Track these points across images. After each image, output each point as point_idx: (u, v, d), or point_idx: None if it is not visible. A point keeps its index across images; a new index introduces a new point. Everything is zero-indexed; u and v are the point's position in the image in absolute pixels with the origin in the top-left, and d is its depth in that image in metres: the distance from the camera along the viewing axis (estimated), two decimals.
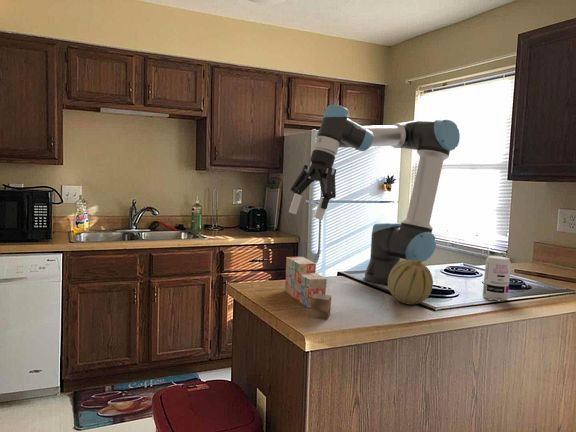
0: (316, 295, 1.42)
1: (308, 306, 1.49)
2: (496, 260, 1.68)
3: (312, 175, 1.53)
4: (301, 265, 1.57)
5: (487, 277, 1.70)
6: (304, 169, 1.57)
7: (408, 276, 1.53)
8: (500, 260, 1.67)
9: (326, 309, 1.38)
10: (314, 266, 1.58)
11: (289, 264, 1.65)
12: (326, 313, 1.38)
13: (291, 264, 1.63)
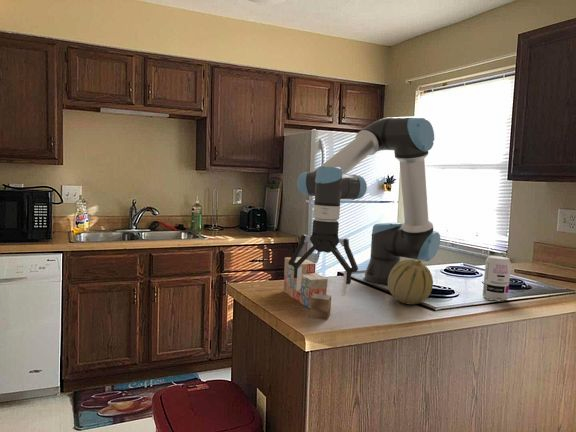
0: (316, 295, 1.42)
1: (309, 306, 1.49)
2: (496, 260, 1.68)
3: (319, 247, 1.39)
4: (301, 265, 1.56)
5: (487, 277, 1.70)
6: (303, 240, 1.40)
7: (408, 276, 1.53)
8: (500, 260, 1.67)
9: (326, 309, 1.38)
10: (314, 266, 1.58)
11: (288, 264, 1.64)
12: (326, 313, 1.38)
13: None
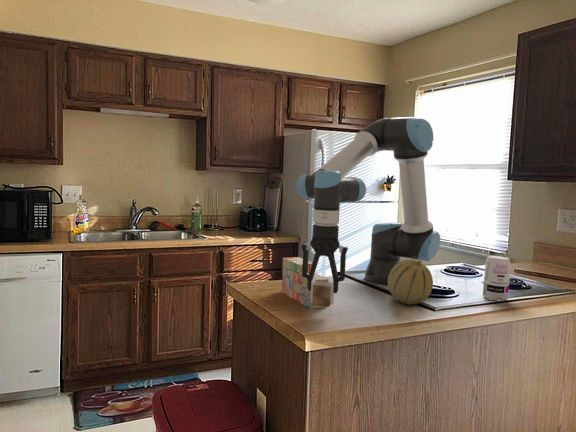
0: (318, 282, 1.42)
1: (311, 307, 1.49)
2: (496, 260, 1.68)
3: (320, 252, 1.39)
4: (301, 266, 1.56)
5: (487, 277, 1.70)
6: (305, 249, 1.40)
7: (408, 276, 1.53)
8: (500, 260, 1.67)
9: (328, 296, 1.38)
10: None
11: (286, 265, 1.63)
12: (328, 300, 1.39)
13: (289, 265, 1.62)
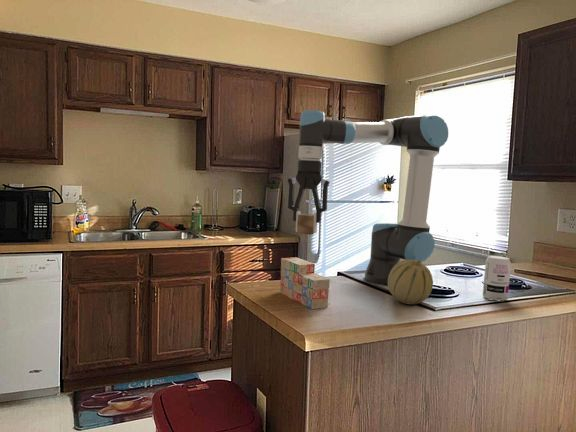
0: (302, 214, 1.56)
1: (312, 307, 1.48)
2: (496, 260, 1.68)
3: (304, 185, 1.53)
4: (301, 266, 1.55)
5: (487, 277, 1.70)
6: (291, 182, 1.54)
7: (408, 276, 1.53)
8: (500, 260, 1.67)
9: (311, 225, 1.53)
10: (313, 267, 1.58)
11: (285, 265, 1.62)
12: (311, 228, 1.53)
13: (288, 265, 1.61)
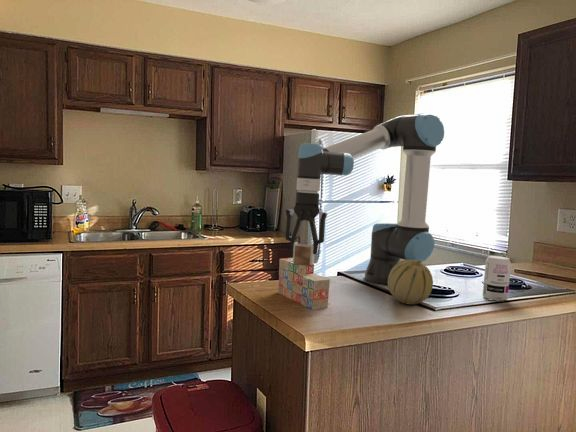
0: (299, 244, 1.57)
1: (313, 308, 1.48)
2: (496, 260, 1.68)
3: (302, 216, 1.55)
4: (300, 266, 1.55)
5: (487, 277, 1.70)
6: (289, 214, 1.56)
7: (408, 276, 1.53)
8: (500, 260, 1.68)
9: (308, 256, 1.54)
10: (312, 267, 1.57)
11: (284, 266, 1.62)
12: (308, 259, 1.54)
13: (286, 266, 1.60)
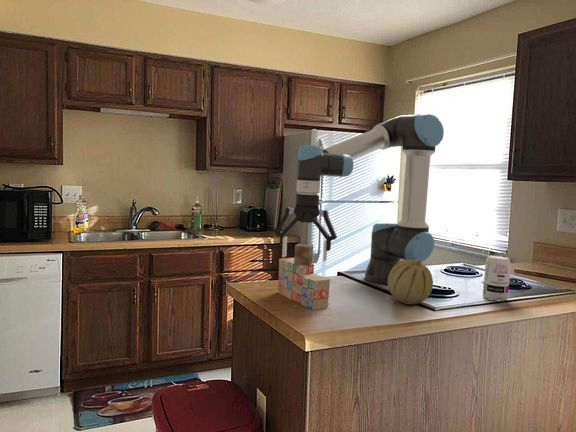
0: (299, 244, 1.57)
1: (313, 308, 1.48)
2: (496, 260, 1.68)
3: (302, 218, 1.55)
4: (300, 266, 1.54)
5: (487, 277, 1.70)
6: (287, 212, 1.56)
7: (408, 276, 1.53)
8: (500, 260, 1.67)
9: (308, 256, 1.54)
10: (312, 267, 1.57)
11: (284, 266, 1.62)
12: (308, 259, 1.54)
13: (286, 266, 1.60)
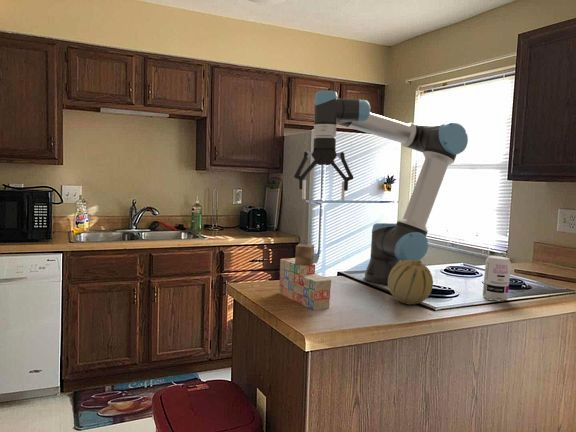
0: (300, 244, 1.57)
1: (314, 308, 1.47)
2: (496, 260, 1.68)
3: (320, 161, 1.64)
4: (302, 267, 1.54)
5: (487, 277, 1.70)
6: (306, 156, 1.65)
7: (408, 276, 1.53)
8: (500, 260, 1.67)
9: (309, 256, 1.53)
10: (313, 267, 1.57)
11: (285, 266, 1.61)
12: (309, 259, 1.53)
13: (287, 266, 1.60)
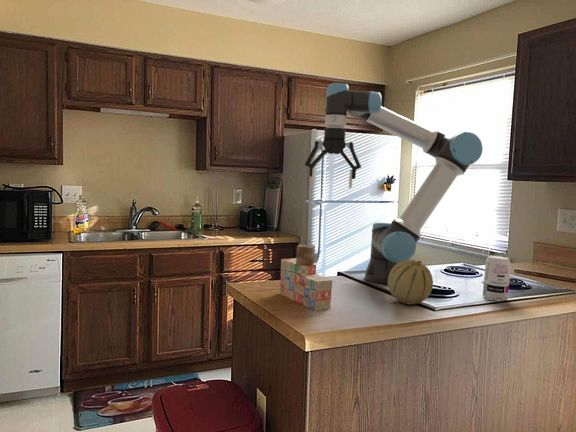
0: (301, 245, 1.56)
1: (316, 309, 1.47)
2: (496, 260, 1.68)
3: (330, 150, 1.73)
4: (303, 267, 1.54)
5: (487, 277, 1.70)
6: (317, 145, 1.73)
7: (408, 276, 1.53)
8: (500, 260, 1.67)
9: (310, 256, 1.53)
10: (314, 267, 1.56)
11: (286, 266, 1.61)
12: (310, 260, 1.53)
13: (288, 266, 1.59)
